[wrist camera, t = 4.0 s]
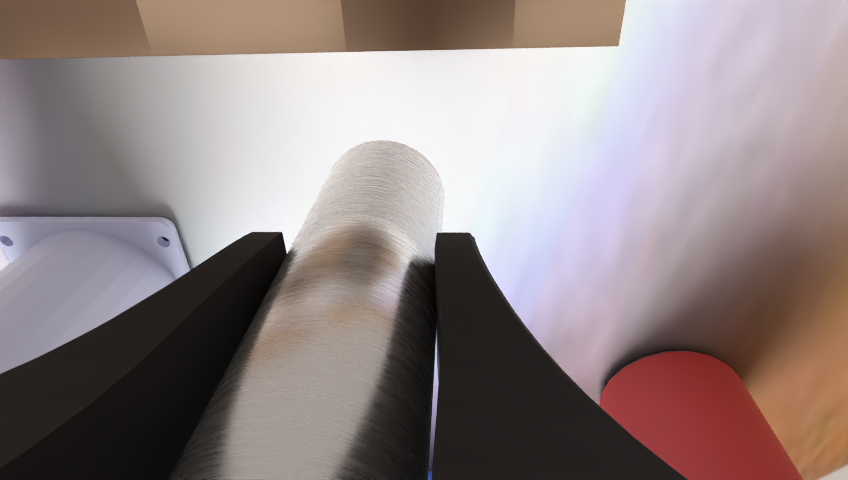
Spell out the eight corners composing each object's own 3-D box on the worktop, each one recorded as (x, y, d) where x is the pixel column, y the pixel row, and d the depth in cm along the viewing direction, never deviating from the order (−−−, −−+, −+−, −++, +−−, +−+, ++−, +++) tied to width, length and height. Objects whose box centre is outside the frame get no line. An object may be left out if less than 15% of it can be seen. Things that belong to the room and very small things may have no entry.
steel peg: (444, 245, 14) (420, 776, 5) (335, 245, 14) (136, 754, 5) (442, 140, 12) (405, 653, 3) (319, 141, 12) (0, 628, 4)
